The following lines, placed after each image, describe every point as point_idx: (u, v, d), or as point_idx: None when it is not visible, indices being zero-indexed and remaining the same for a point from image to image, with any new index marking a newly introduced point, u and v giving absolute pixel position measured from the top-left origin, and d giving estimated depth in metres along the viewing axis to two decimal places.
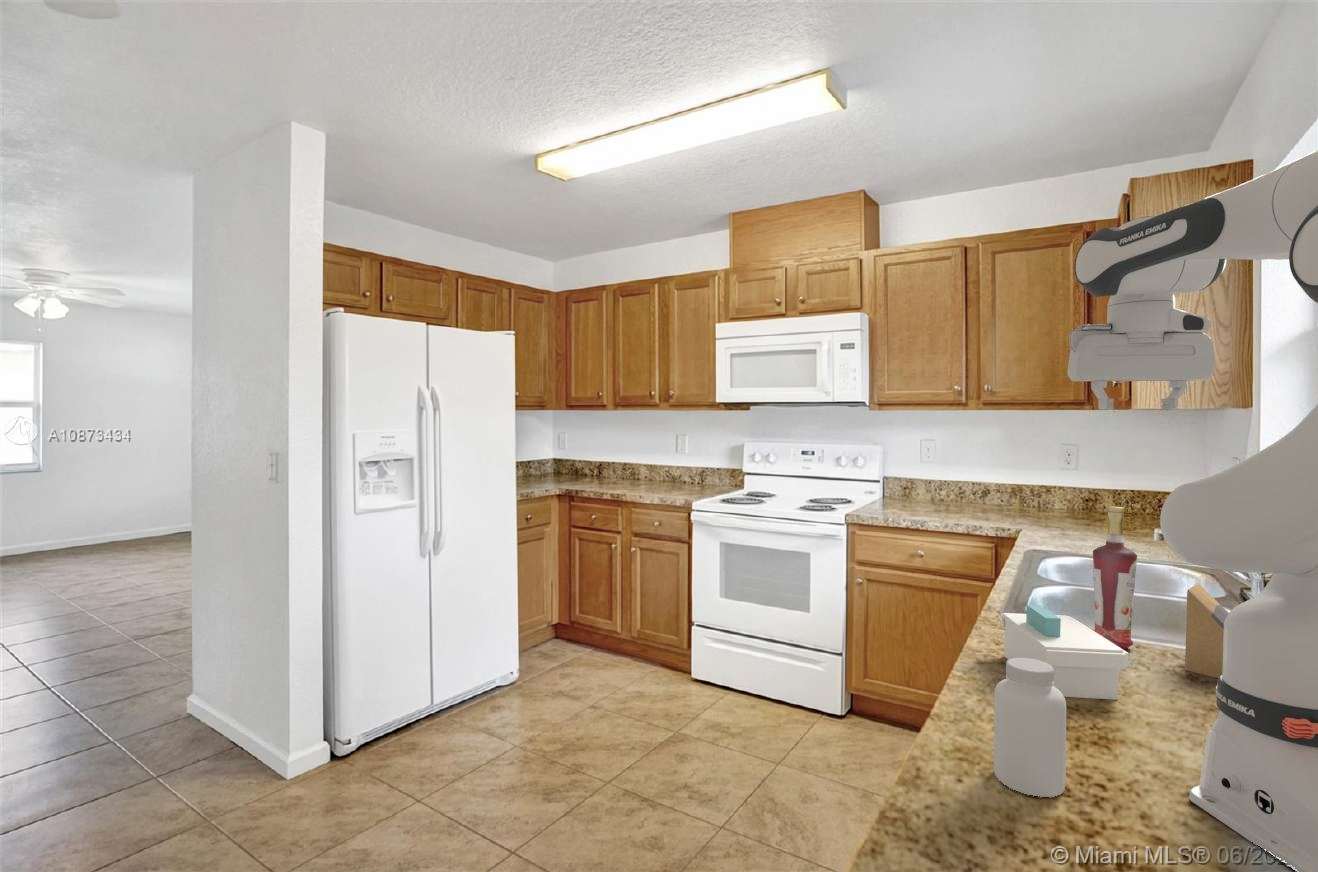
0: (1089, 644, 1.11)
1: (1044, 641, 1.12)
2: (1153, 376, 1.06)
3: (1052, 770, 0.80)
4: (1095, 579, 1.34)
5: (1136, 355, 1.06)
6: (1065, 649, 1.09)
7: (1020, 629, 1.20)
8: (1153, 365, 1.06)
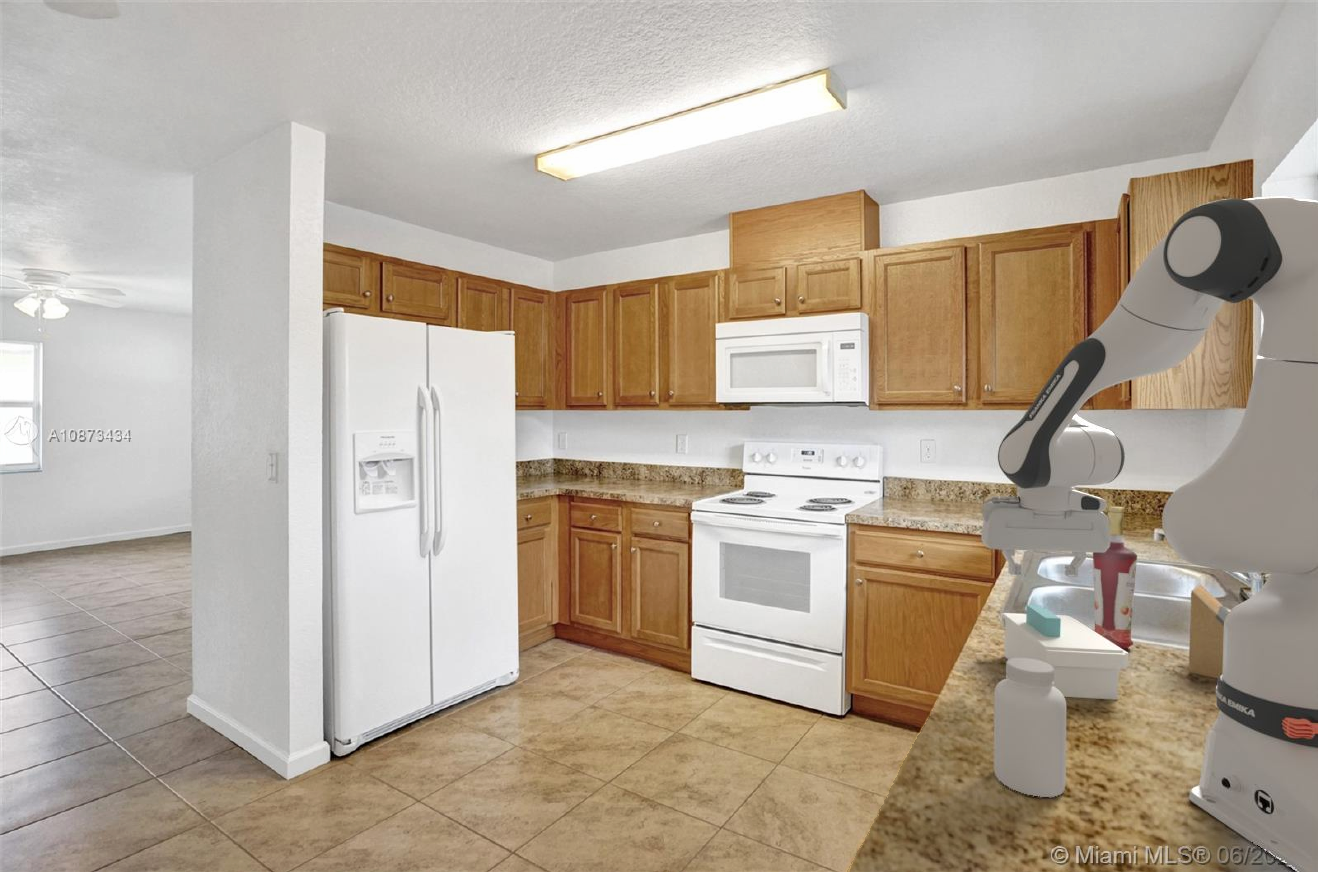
0: (1089, 644, 1.11)
1: (1044, 641, 1.12)
2: (1055, 548, 1.16)
3: (1052, 770, 0.80)
4: (1095, 579, 1.34)
5: (1040, 528, 1.17)
6: (1065, 649, 1.09)
7: (1020, 629, 1.20)
8: (1056, 538, 1.16)
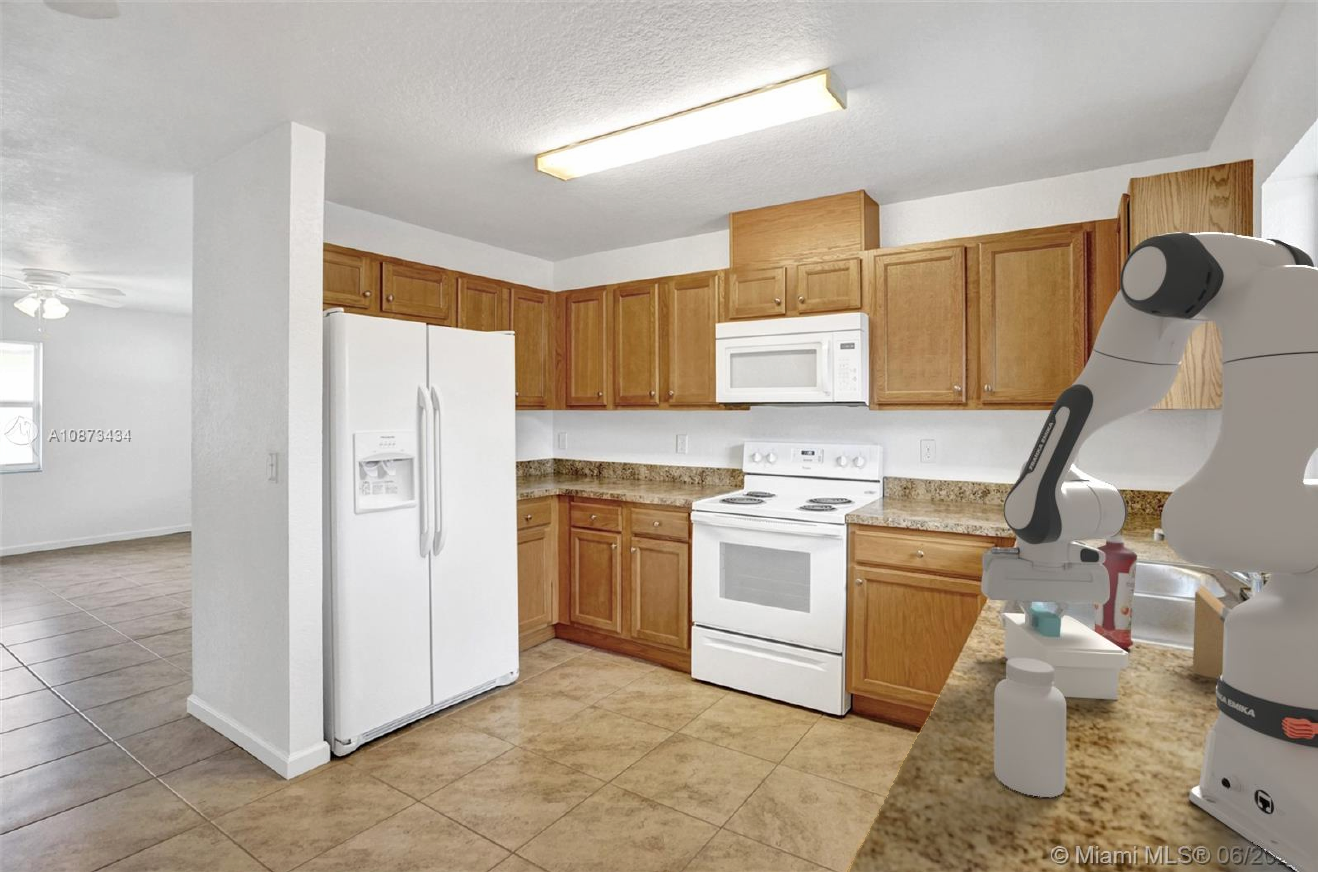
0: (1089, 644, 1.11)
1: (1044, 641, 1.12)
2: (1055, 599, 1.16)
3: (1052, 770, 0.80)
4: None
5: (1040, 579, 1.17)
6: (1065, 649, 1.09)
7: (1020, 629, 1.20)
8: (1055, 590, 1.16)
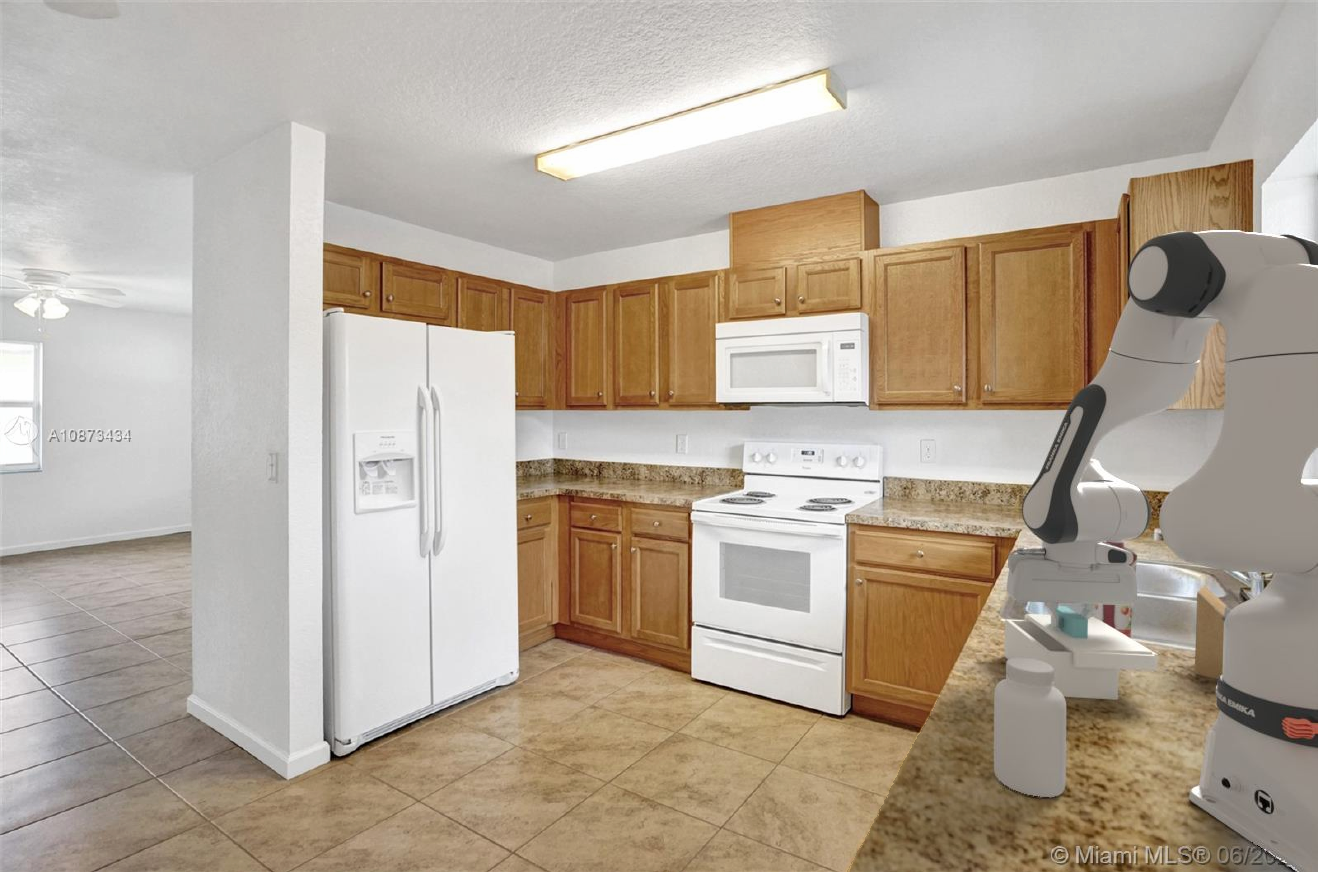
0: (1117, 645, 1.10)
1: (1072, 643, 1.11)
2: (1082, 600, 1.16)
3: (1052, 770, 0.80)
4: None
5: (1067, 580, 1.16)
6: (1094, 650, 1.09)
7: (1046, 630, 1.19)
8: (1082, 591, 1.16)
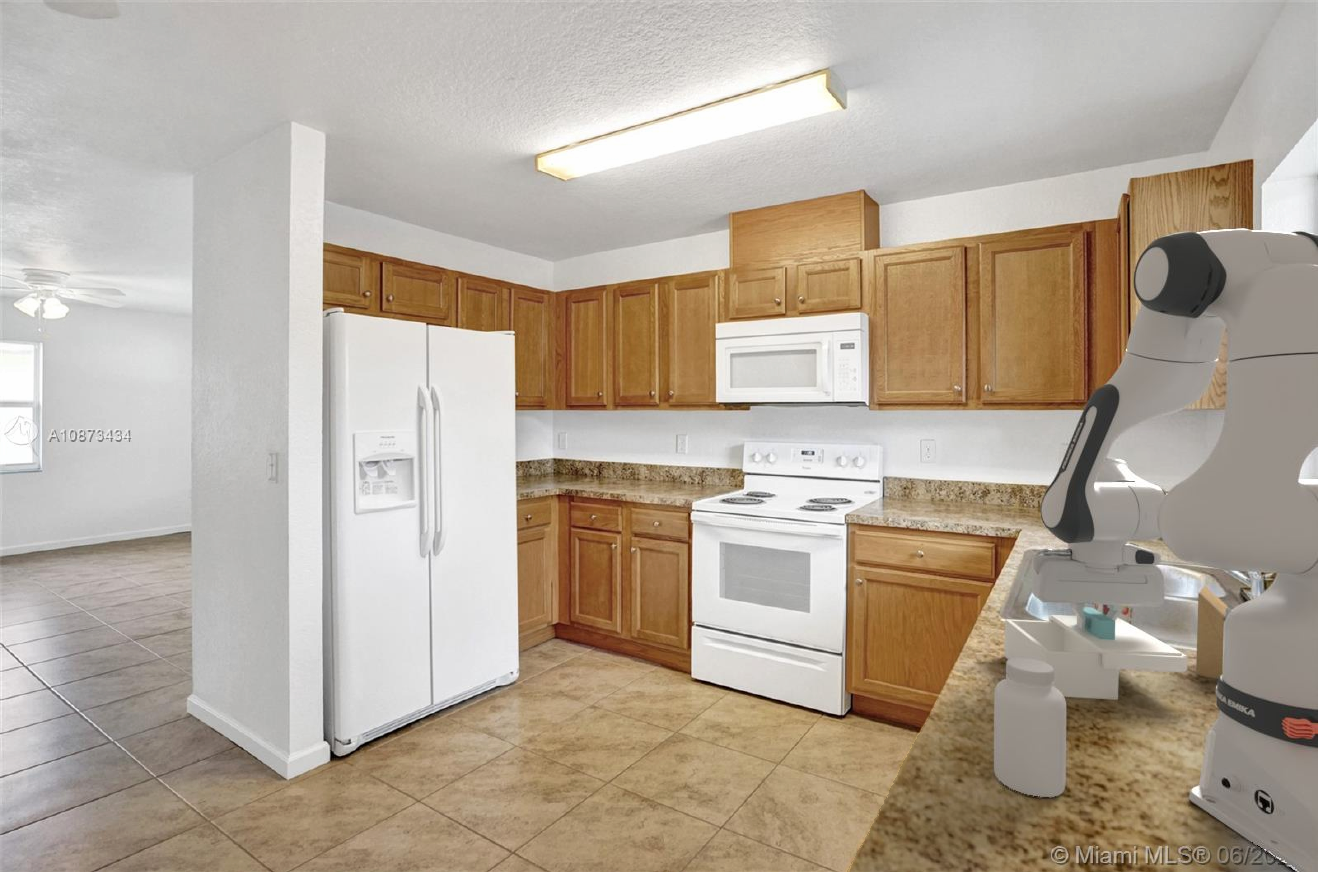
0: (1146, 647, 1.10)
1: (1100, 644, 1.11)
2: (1109, 601, 1.15)
3: (1052, 770, 0.80)
4: None
5: (1093, 581, 1.16)
6: (1122, 652, 1.08)
7: (1072, 631, 1.18)
8: (1109, 592, 1.15)
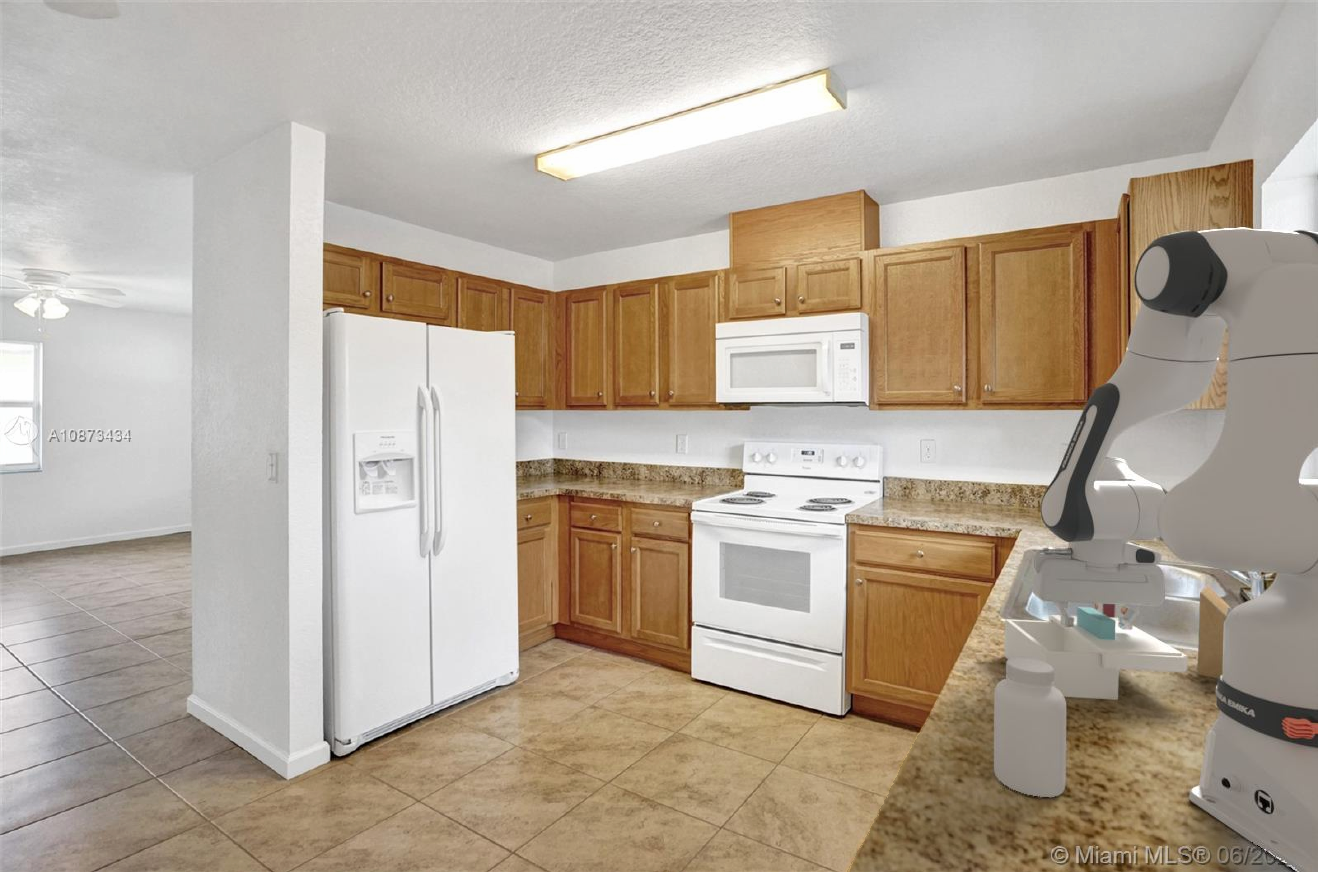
0: (1146, 647, 1.10)
1: (1100, 644, 1.11)
2: (1109, 600, 1.15)
3: (1052, 770, 0.80)
4: None
5: (1094, 580, 1.16)
6: (1123, 652, 1.08)
7: (1072, 631, 1.18)
8: (1110, 591, 1.15)
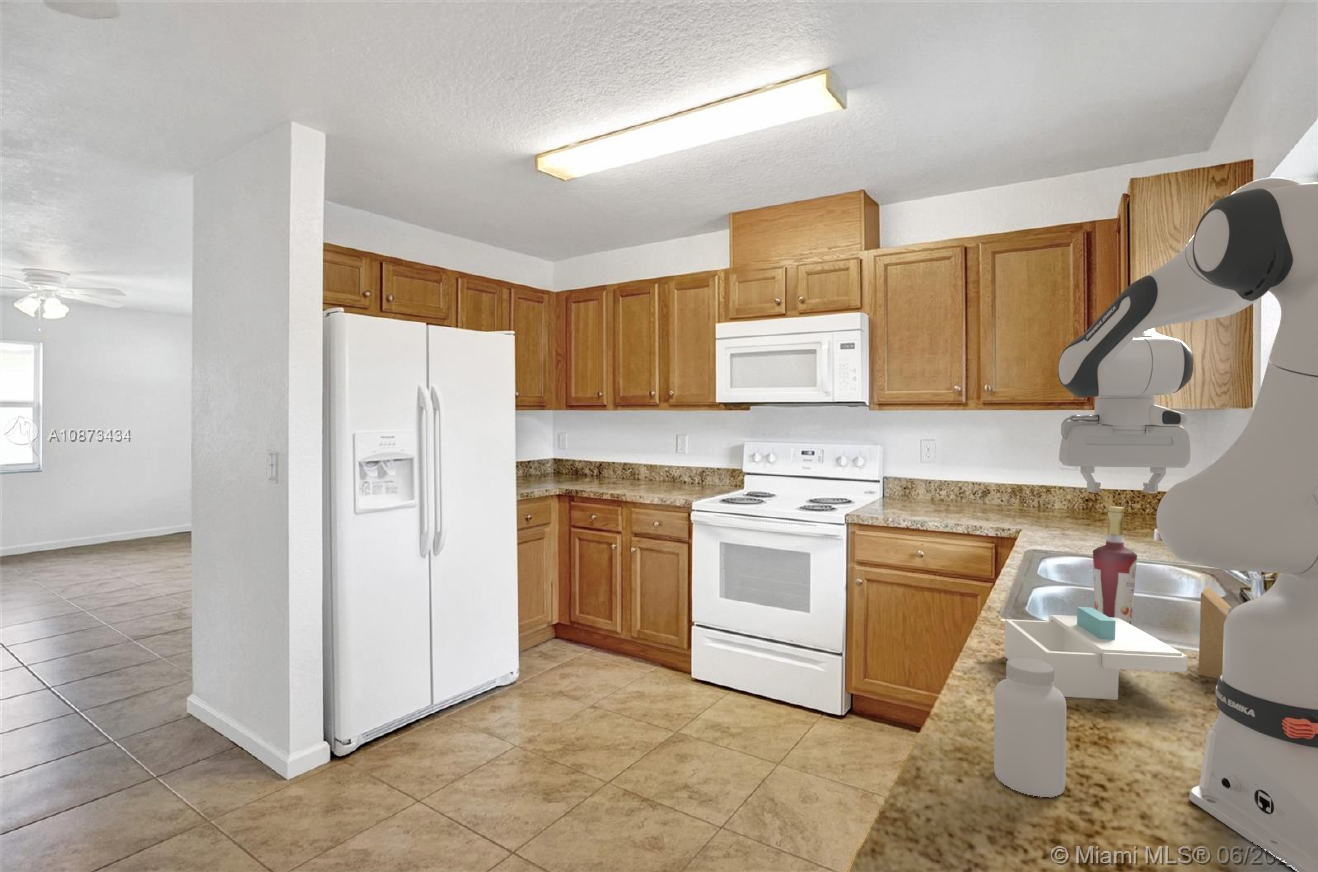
0: (1146, 647, 1.10)
1: (1100, 644, 1.11)
2: (1136, 464, 1.17)
3: (1052, 770, 0.80)
4: (1095, 579, 1.34)
5: (1120, 444, 1.18)
6: (1123, 652, 1.08)
7: (1072, 631, 1.18)
8: (1136, 454, 1.17)
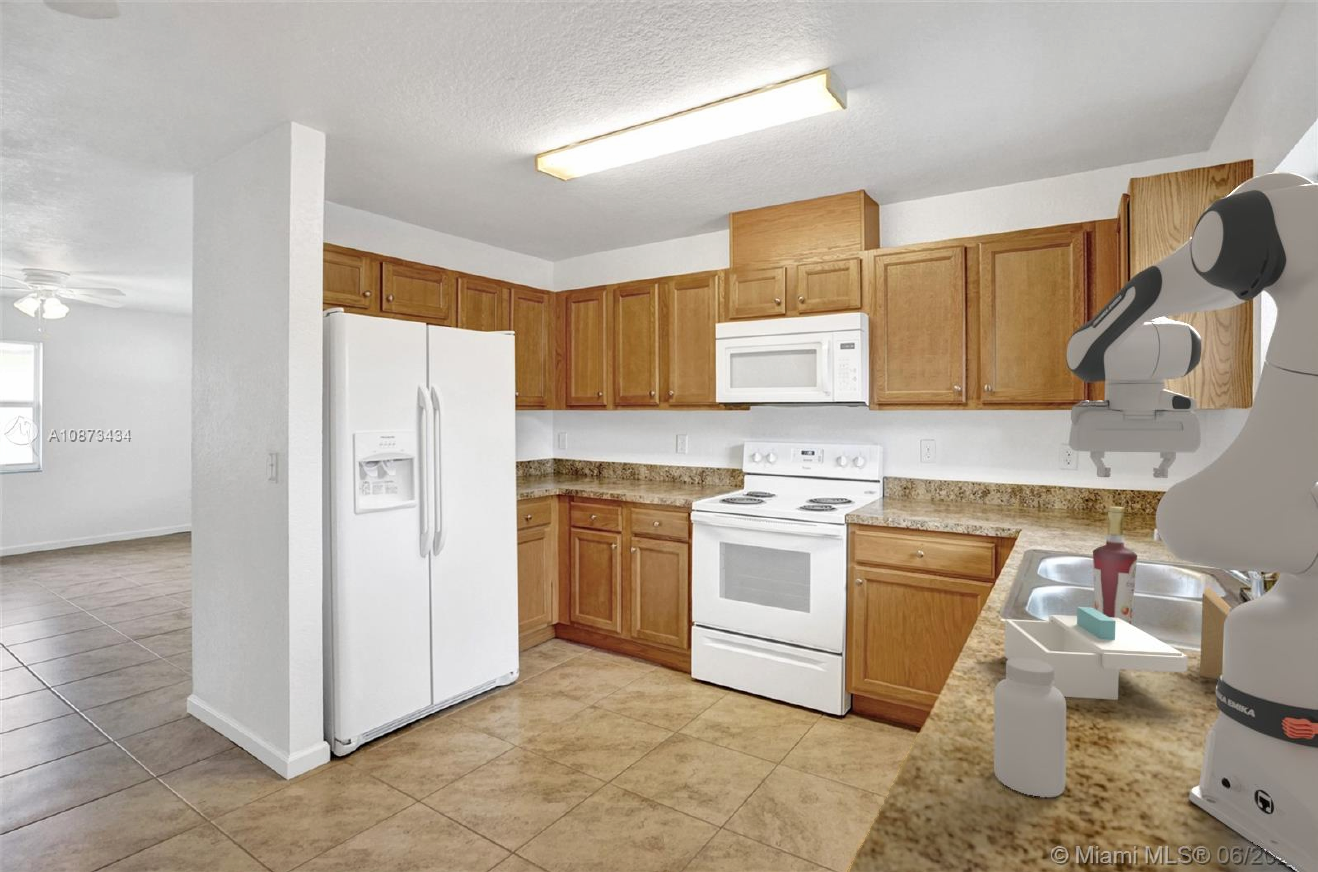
0: (1146, 647, 1.10)
1: (1100, 644, 1.11)
2: (1146, 449, 1.18)
3: (1052, 769, 0.80)
4: (1095, 579, 1.34)
5: (1130, 429, 1.19)
6: (1123, 652, 1.08)
7: (1072, 631, 1.18)
8: (1146, 439, 1.18)
